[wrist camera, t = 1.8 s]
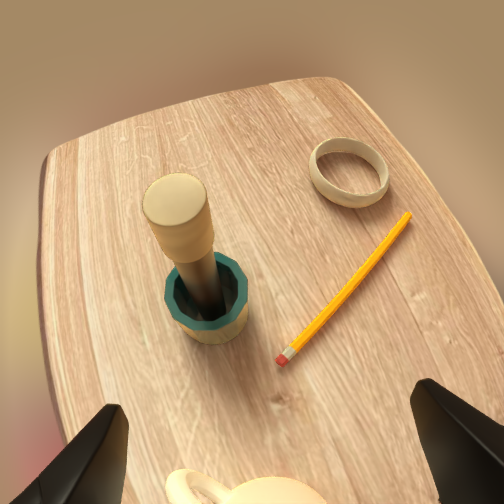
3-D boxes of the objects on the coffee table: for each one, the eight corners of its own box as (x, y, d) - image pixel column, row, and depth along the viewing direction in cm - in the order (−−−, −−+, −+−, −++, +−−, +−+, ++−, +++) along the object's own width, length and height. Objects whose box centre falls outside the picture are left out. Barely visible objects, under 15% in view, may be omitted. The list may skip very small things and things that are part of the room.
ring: (343, 224, 28) (349, 212, 26) (291, 164, 31) (293, 150, 29) (400, 190, 30) (407, 178, 28) (349, 139, 33) (353, 126, 31)
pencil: (274, 360, 22) (274, 359, 22) (404, 214, 28) (407, 210, 27) (282, 368, 22) (283, 367, 21) (410, 219, 28) (413, 215, 27)
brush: (218, 331, 23) (181, 237, 10) (191, 315, 23) (128, 209, 11) (234, 304, 24) (219, 186, 11) (207, 289, 24) (168, 164, 12)
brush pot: (225, 357, 23) (219, 346, 18) (167, 322, 24) (149, 303, 19) (260, 299, 25) (262, 274, 20) (203, 268, 26) (193, 238, 21)
